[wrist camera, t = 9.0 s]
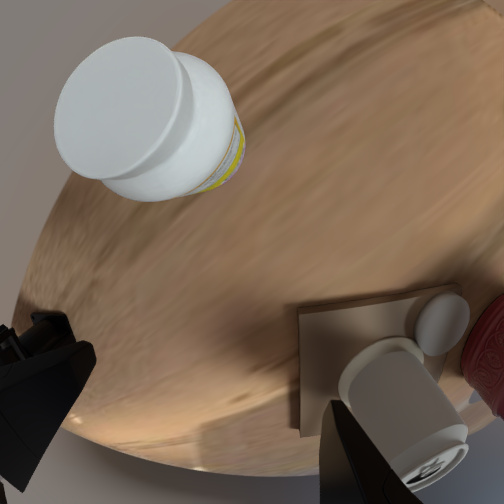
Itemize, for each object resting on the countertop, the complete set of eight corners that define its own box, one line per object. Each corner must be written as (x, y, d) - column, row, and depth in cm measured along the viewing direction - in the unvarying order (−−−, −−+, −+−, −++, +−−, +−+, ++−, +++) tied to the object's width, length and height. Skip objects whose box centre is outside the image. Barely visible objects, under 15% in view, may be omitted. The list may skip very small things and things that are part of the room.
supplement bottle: (150, 121, 18) (33, 69, 5) (234, 95, 17) (196, -15, 5) (169, 202, 20) (51, 237, 7) (255, 180, 19) (245, 173, 6)
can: (342, 411, 22) (369, 511, 11) (348, 355, 20) (396, 471, 9) (408, 395, 22) (453, 477, 10) (422, 337, 20) (493, 423, 8)
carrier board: (299, 429, 25) (301, 447, 22) (297, 307, 21) (301, 324, 19) (427, 400, 24) (435, 413, 22) (459, 282, 20) (475, 291, 18)
